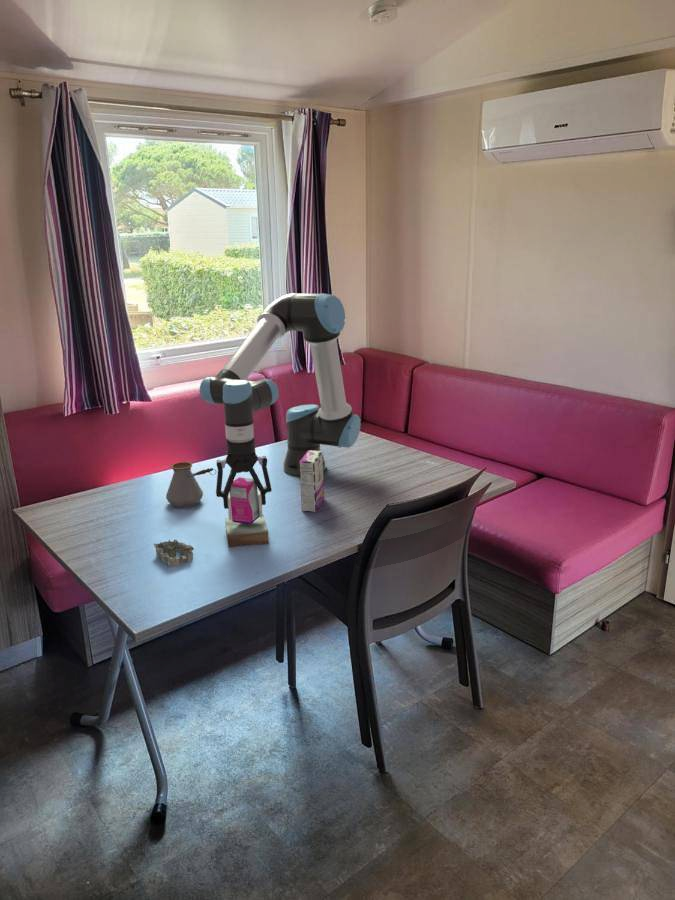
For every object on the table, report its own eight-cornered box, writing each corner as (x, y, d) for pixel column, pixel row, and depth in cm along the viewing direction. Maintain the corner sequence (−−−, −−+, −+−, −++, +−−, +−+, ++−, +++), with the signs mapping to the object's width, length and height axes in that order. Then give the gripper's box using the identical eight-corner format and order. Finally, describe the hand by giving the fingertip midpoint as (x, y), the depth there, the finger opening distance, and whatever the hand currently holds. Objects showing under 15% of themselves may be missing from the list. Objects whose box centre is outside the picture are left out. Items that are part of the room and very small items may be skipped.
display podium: (226, 531, 191) (225, 518, 190) (264, 527, 193) (263, 514, 192) (228, 547, 181) (227, 534, 180) (268, 543, 183) (267, 530, 182)
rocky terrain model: (196, 562, 174) (195, 547, 173) (169, 570, 170) (168, 556, 168) (179, 547, 182) (178, 533, 181) (153, 555, 178) (151, 541, 176)
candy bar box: (309, 498, 214) (307, 449, 209) (324, 499, 213) (323, 450, 208) (300, 511, 203) (298, 461, 198) (316, 513, 202) (314, 461, 197)
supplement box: (241, 514, 189) (239, 476, 185) (260, 517, 187) (258, 478, 183) (231, 522, 184) (228, 483, 180) (250, 525, 182) (247, 486, 178)
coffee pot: (159, 504, 211) (154, 459, 206) (188, 493, 219) (184, 450, 215) (202, 521, 198) (198, 474, 193) (231, 509, 206) (228, 463, 201)
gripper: (201, 445, 173) (208, 526, 180) (280, 439, 176) (284, 518, 184) (201, 437, 180) (207, 515, 187) (276, 431, 183) (280, 508, 191)
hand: (245, 516), depth 185 cm, fingers closed on supplement box, 8 cm apart
